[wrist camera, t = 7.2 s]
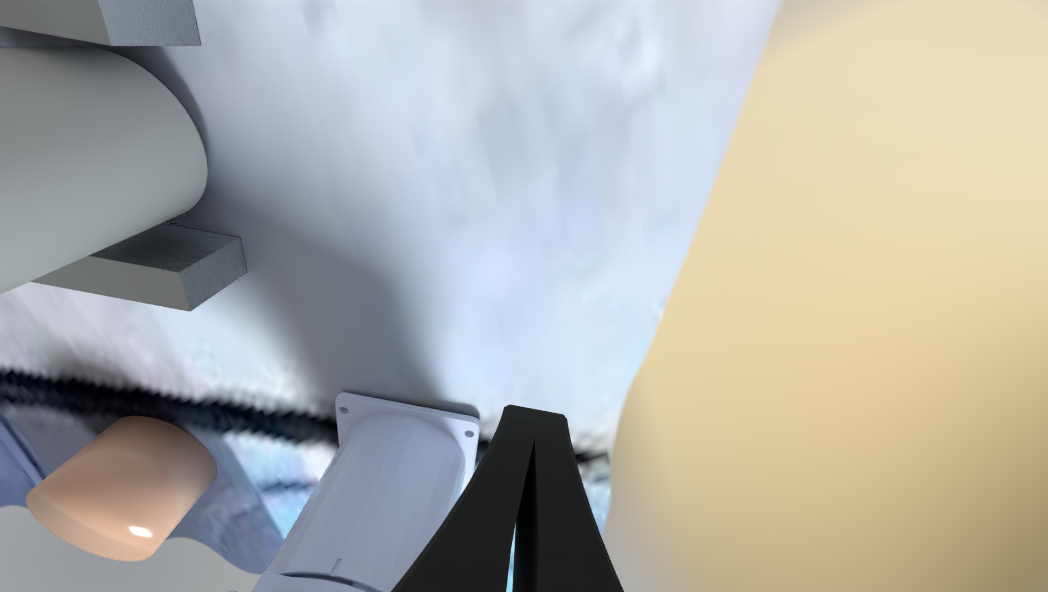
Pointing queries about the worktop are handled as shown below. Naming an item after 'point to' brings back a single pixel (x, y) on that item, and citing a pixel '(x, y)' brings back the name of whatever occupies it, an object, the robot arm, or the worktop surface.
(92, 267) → the grey piece
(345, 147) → the worktop surface
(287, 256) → the worktop surface
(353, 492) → the robot arm
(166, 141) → the beverage can
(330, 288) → the worktop surface
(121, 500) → the peach cylinder plug
